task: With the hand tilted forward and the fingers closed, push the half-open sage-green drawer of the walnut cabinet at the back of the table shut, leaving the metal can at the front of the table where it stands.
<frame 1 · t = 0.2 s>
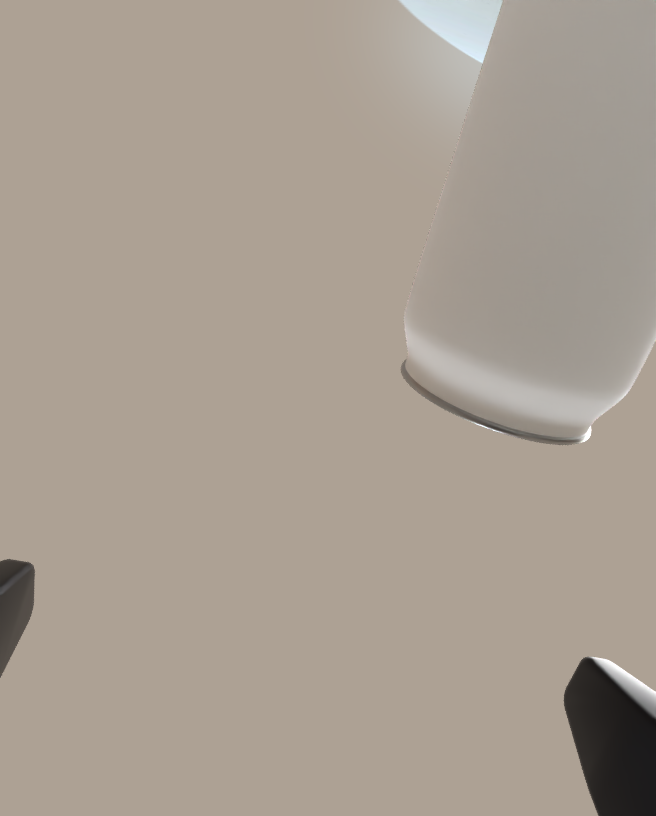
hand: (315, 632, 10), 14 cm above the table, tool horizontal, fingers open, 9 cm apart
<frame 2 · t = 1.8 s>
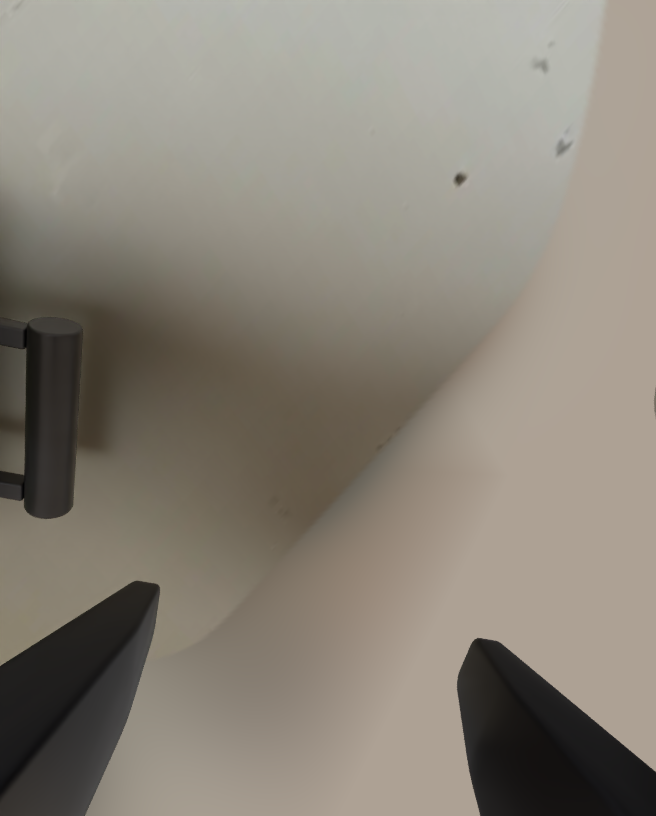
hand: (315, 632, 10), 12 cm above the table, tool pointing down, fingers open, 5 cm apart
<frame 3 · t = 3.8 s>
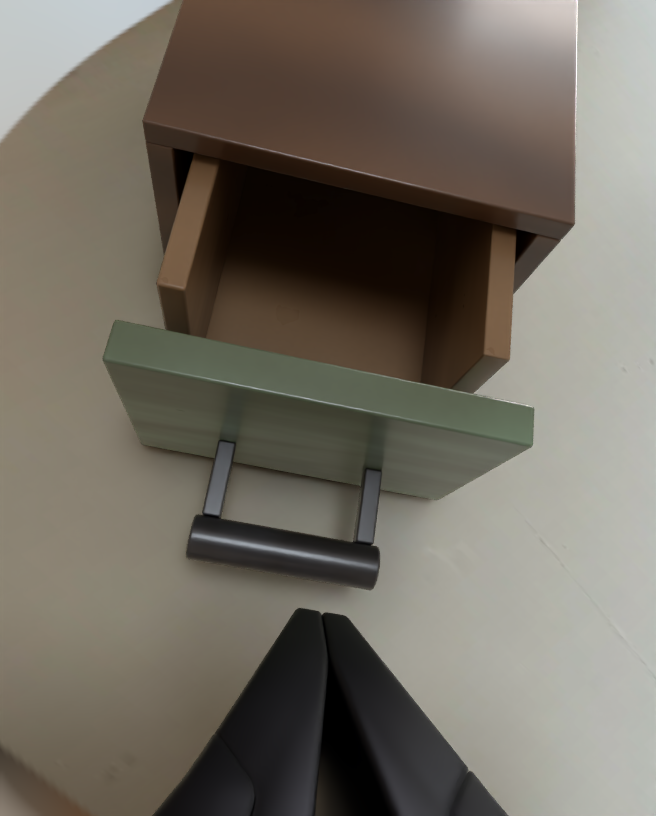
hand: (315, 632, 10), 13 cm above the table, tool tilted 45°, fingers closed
drawer: (328, 313, 21), point 5 cm above the table, slide at 5.5 cm
cabinet: (341, 190, 29), on the table
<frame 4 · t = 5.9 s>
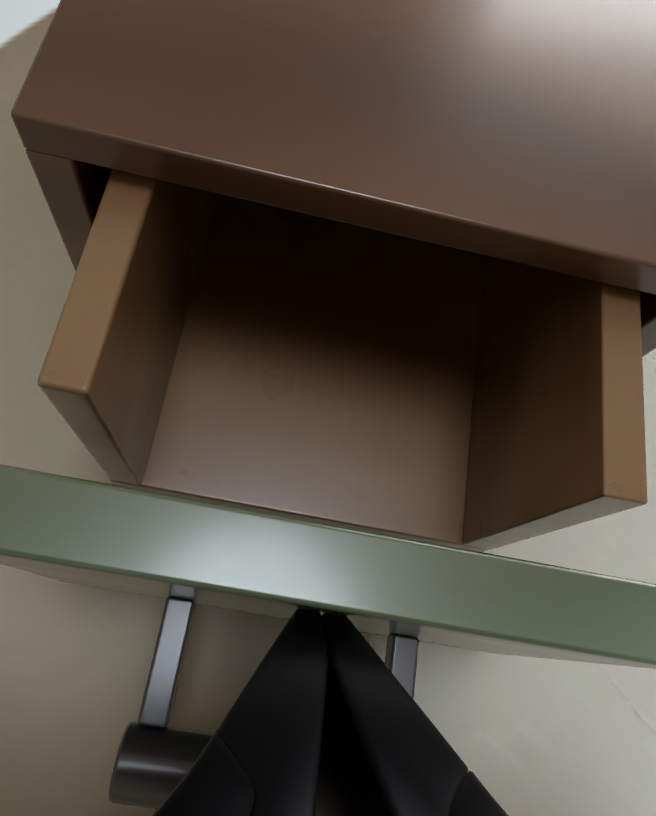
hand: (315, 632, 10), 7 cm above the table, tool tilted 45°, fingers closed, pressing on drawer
drawer: (337, 396, 14), point 5 cm above the table, slide at 5.2 cm, touching gripper
cabinet: (350, 213, 22), on the table
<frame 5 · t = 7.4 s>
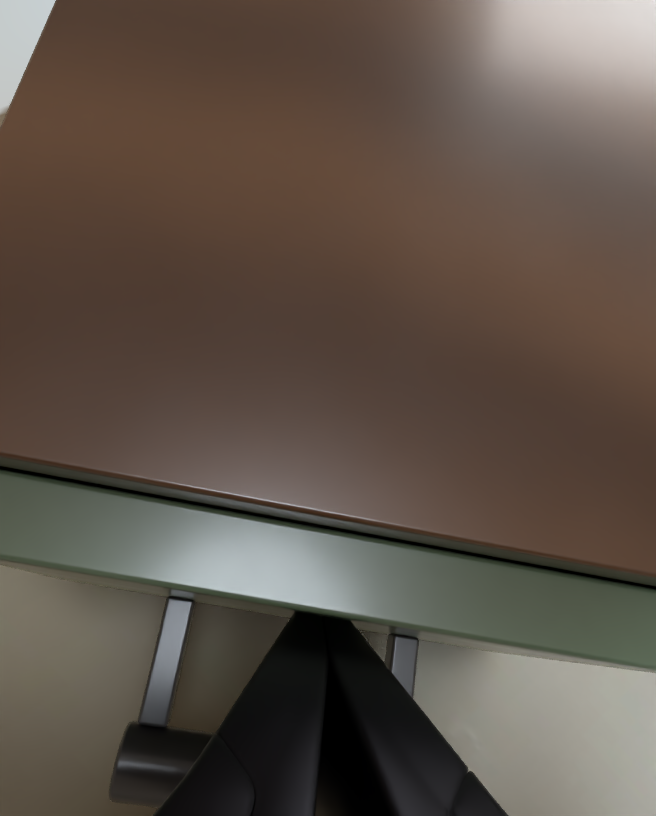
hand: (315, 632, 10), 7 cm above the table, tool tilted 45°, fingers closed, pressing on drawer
drawer: (338, 395, 14), point 5 cm above the table, slide at 0.0 cm, touching cabinet, gripper
cabinet: (329, 340, 20), on the table
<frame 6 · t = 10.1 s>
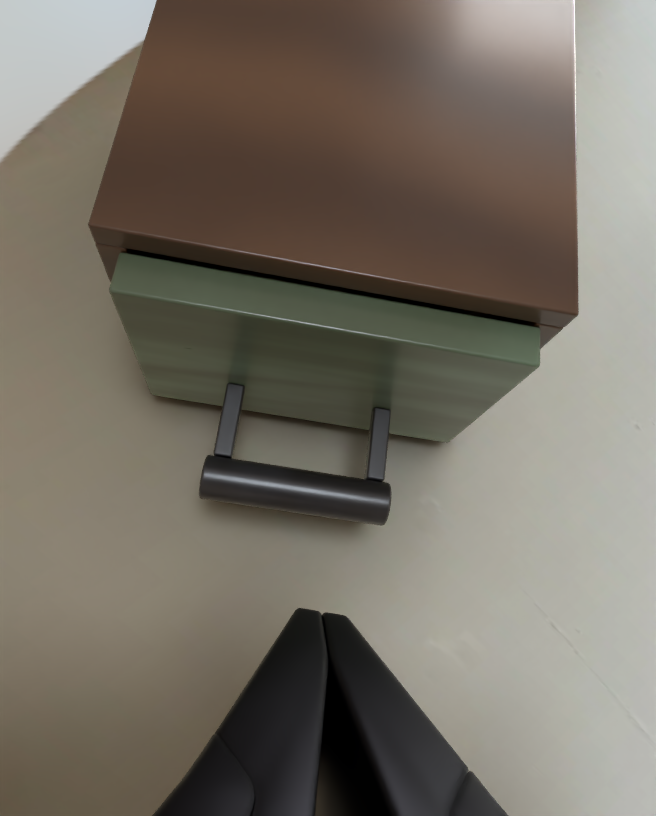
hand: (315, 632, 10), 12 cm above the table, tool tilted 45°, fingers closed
drawer: (332, 255, 21), point 5 cm above the table, slide at 0.0 cm, touching cabinet
cabinet: (327, 243, 27), on the table
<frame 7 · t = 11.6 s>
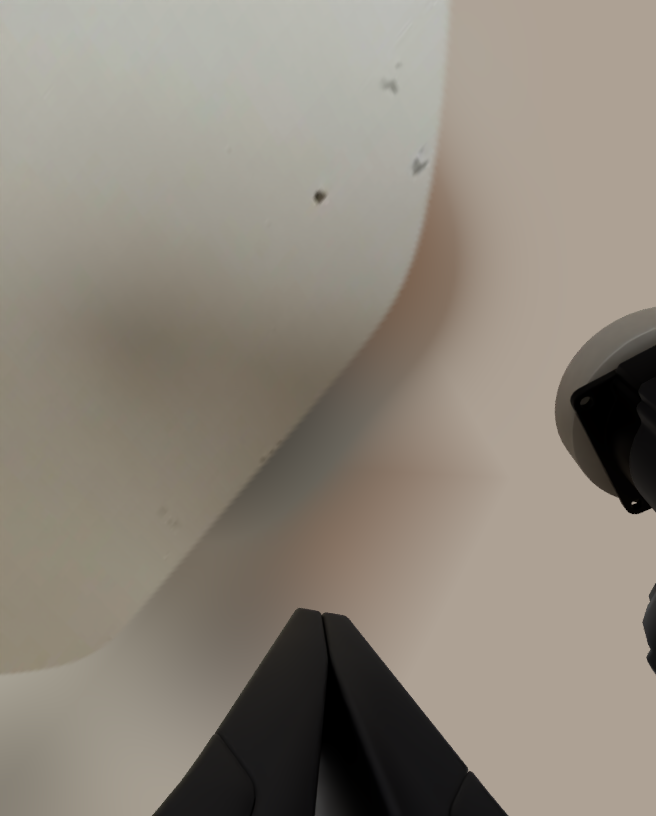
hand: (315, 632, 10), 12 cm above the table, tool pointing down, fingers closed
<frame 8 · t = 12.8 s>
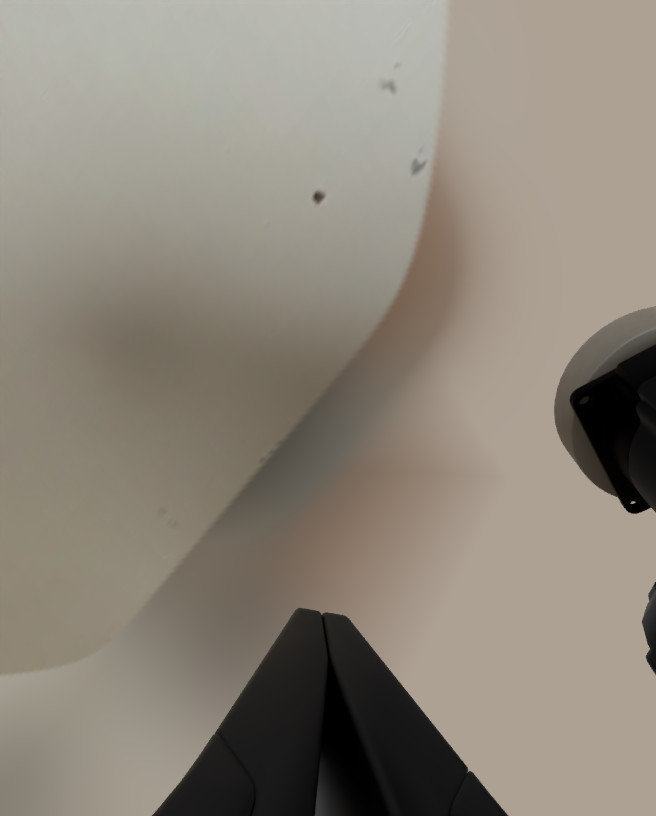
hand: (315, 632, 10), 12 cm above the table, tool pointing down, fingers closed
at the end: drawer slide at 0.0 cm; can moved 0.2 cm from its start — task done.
